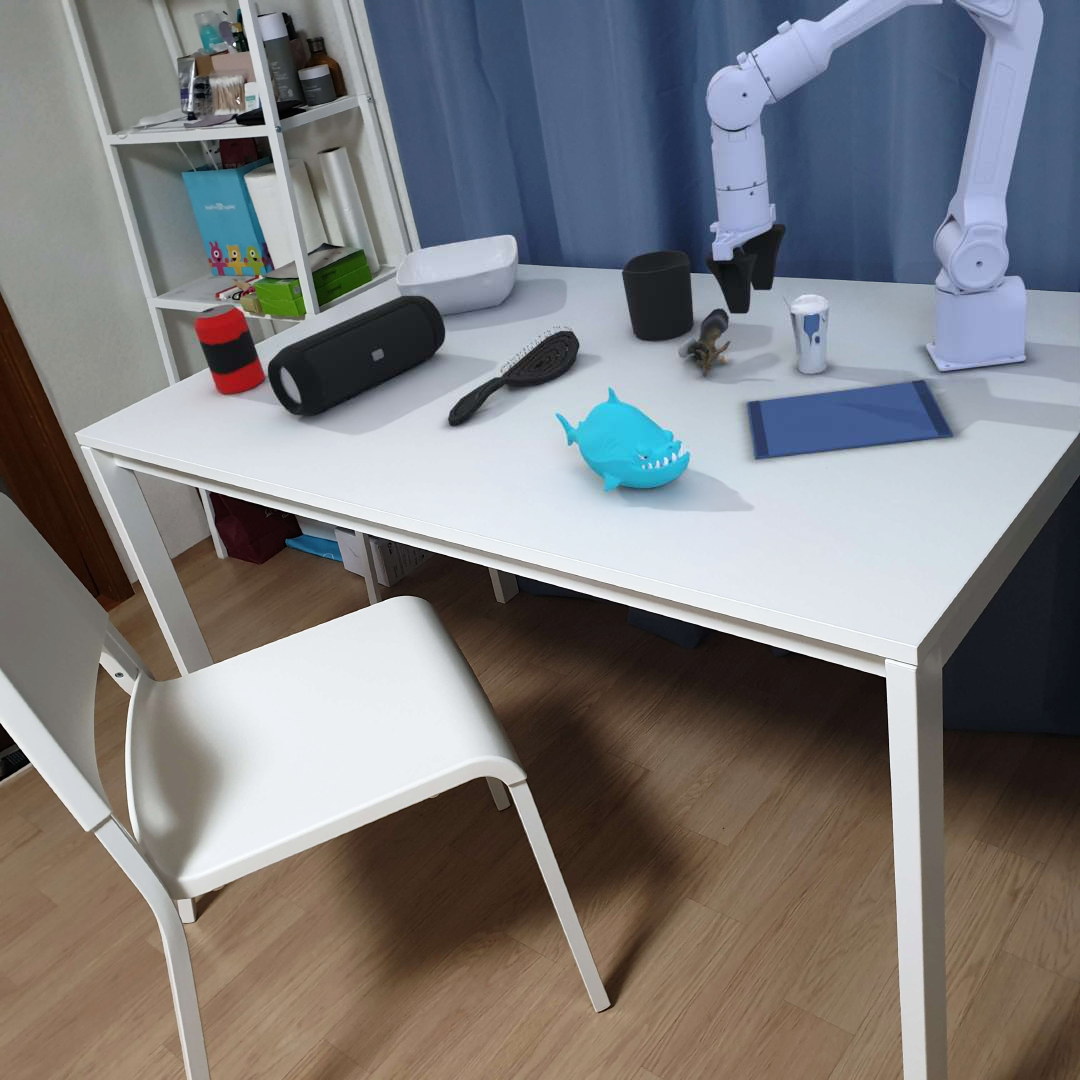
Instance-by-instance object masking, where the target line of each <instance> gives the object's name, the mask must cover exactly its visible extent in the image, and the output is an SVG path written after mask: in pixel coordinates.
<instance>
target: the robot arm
mask: <svg viewBox="0 0 1080 1080" xmlns="http://www.w3.org/2000/svg"><path fill="white" fill-rule="evenodd" d="M949 2H951V3H954V4H956V5H958V6H960V7H961V8H963V9H964V10H965V11H967V13H968V15H969V16H970V17H971V18H972V20H973V21H974V22H975V23H976V24H977V25H978V27H979V28H980V29H981V31H983V33H984V34H985V43H984V48H983V53H982V59H981V63H980V68H979V74H978V79H977V85H976V90H975V95H974V100H973V106H972V111H971V116H970V121H969V127H968V130H967V131H968V133H967V137H966V141H965V147H964V151H963V152H964V153H963V157H962V163H961V168H960V173H959V177H958V178H959V179H958V184H957V188H956V191H955V194H954V195H953V197H952V198H951V200H950V202H949V204H948V209H947V213H946V216H945V218H944V221H943V222H942V224H941V225H940V226H939V228H938V229H937V231H936V232H935V234H934V236H933V237H934V238H933V241H932V242H933V246H932V248H933V252H934V255H935V257H936V258H937V260H938V261H939V262H940V263H941V264H942V267H941V269H940V271H939V274H938V275H937V277H936V278H935V280H934V282H935V287H934V289H935V291H934V292H935V293H934V295H935V296H934V300H935V301H934V342H928V343H925V349H926V351H927V352H928V354H929V356H930V358H931V359H932V361H933V363H934V365H935V366H936V368H937V370H938V371H939V372H948V371H957V370H965V369H973V368H980V367H989V366H995V365H996V366H997V365H1004V364H1012V363H1013V364H1014V363H1020V362H1021V363H1022V362H1024V361H1026V360H1027V356H1026V354H1025V350H1026V349H1025V348H1026V330H1027V311H1028V304H1027V301H1028V300H1027V291H1026V287H1025V283H1024V281H1023V279H1022V277H1020V275H1007V276H1006V275H1005V273H1006V271H1007V269H1008V267H1009V262H1010V255H1009V254H1010V253H1009V250H1008V246H1007V243H1006V235H1007V229H1008V215H1007V205H1006V197H1007V194H1008V193H1007V192H1008V188H1009V183H1010V177H1011V174H1012V170H1013V165H1014V159H1015V155H1016V151H1017V146H1018V141H1019V138H1020V133H1021V129H1022V123H1023V118H1024V114H1025V109H1026V105H1027V101H1028V95H1029V90H1030V86H1031V81H1032V78H1033V77H1032V76H1033V72H1034V67H1035V64H1036V58H1037V54H1038V49H1039V44H1040V40H1041V36H1042V31H1043V26H1044V11H1043V7H1042V6H1041V3H1040V1H1039V0H949ZM942 4H943V0H848V1H847V0H846V2H845V3H843V4H841V5H840V6H839V7H837V8H836V9H834V11H832V12H830V13H829V14H828V15H826V16H825V17H824V18H822V19H821V20H819V21H813V20H808V19H804V18H799V19H798V20H797V21H795V22H794V23H792V24H791V23H790V21H789V20H786V21H784V22H782V23H781V24H780V25H778V26H777V27H776V30H777V31H778V33H777V34H775V35H773V37H771V38H769V39H768V40H767V41H766V42H764V43H762V44H761V45H760V46H758V47H757V48H755V49H754V50H751V52H749V53H748V54H747V53H746V51H743V52H741V53H739V54H738V55H737V56H736V60H737V63H738V64H739V65H738V64H736V65H732V64H731V65H727V66H725V67H723V68H721V69H719V70H718V71H717V72H716V73H715V74H714V75H713V76H712V77H711V79H710V82H709V83H708V86H707V90H706V96H705V103H706V108H707V112H708V116H709V117H710V119H711V125H710V136H711V139H712V143H711V155H712V158H711V159H712V167H713V177H714V186H715V196H716V206H717V216H718V221H714V222H713V223H712V224H710V226H709V232H710V233H716V234H715V239H714V241H713V242H712V243H711V250H712V251H711V252H709V253H708V254H707V255H706V256H705V257H704V258H705V259H704V260H705V265H706V267H707V268H708V269H709V271H710V272H711V273H712V275H713V276H714V278H715V280H716V281H717V284H718V285H719V288H720V289H721V293H722V295H723V299H724V301H725V304H726V306H727V309H728V311H729V313H730V314H731V315H732V314H736V315H737V314H738V315H739V314H741V315H747V314H748V313H749V311H750V307H751V291H752V289H751V288H753V291H771V290H772V289H773V284H774V280H775V272H776V265H777V260H778V259H777V258H778V254H779V251H780V246H781V244H782V240H783V238H784V237H785V234H786V231H787V226H786V225H785V224H784V223H774V222H775V221H776V220H777V214H776V204H775V203H770V199H769V185H768V172H767V158H766V145H765V137H764V135H763V134H762V128H761V114H762V111H763V109H764V106H766V105H774V104H776V103H777V102H779V101H780V100H783V98H785V97H786V96H788V95H790V94H791V93H793V92H794V91H796V90H797V89H799V88H800V87H802V86H804V85H805V84H807V83H808V82H810V81H811V80H812V79H814V78H816V77H818V76H819V75H820V74H822V73H824V72H825V71H826V70H827V69H828V66H829V63H830V60H831V56H832V53H833V52H834V50H836V49H838V48H839V47H841V46H843V45H844V44H846V43H848V42H850V41H851V40H853V39H855V38H856V37H857V36H859V35H861V34H863V33H864V32H866V31H868V30H870V29H871V28H872V27H874V26H876V25H877V24H879V23H881V22H883V21H884V20H886V19H888V18H889V17H891V16H892V15H894V14H896V13H897V12H899V11H901V10H902V9H904V8H907V7H909V6H928V5H942ZM741 248H742V250H743V251H741ZM751 286H752V287H751Z"/></svg>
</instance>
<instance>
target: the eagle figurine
mask: <svg viewBox="0 0 1080 1080" xmlns="http://www.w3.org/2000/svg"><path fill="white" fill-rule="evenodd" d="M729 318H730V316H729V315H728V313H727V312H726V310H725V309H724V308H715V309H713V310H712V311H711V312H710V313H709V314H708V315H707V316H706V317H705V318H704V319H703V320H702V322H701V323H700V330H699V337H698V340H696V339H695V338H694V337H691V338H689V339H687V340H686V341H684V343H682V344H681V345H680V346H679V348H678V352H677V353H678V356H679V358H681V359H682V358H687V356H690V355H694V356H696V357H697V359H698V360H695V361H694V364H696V365H699V364H701V365H702V367H703V371H702V372H703V374H702V375H703V377H707V374H708V373H709V371H711V368H712V365H713V363H714V361H718V362H722V363H724V364H727V361H726V359H725V356H724V355H723V354H722V353H723V352H725V351H726V350H727V349H729V346H730V344H731V340H727V341H726V342H725V344H724V345H722V346H721V347H720V348H718V349H717V346H716V341H717V340H718V339H720V338H721V337H722V335H723V334H724V333H725V332H727V330H728V329H729V323H730V321H729V320H730V319H729Z"/></svg>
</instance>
